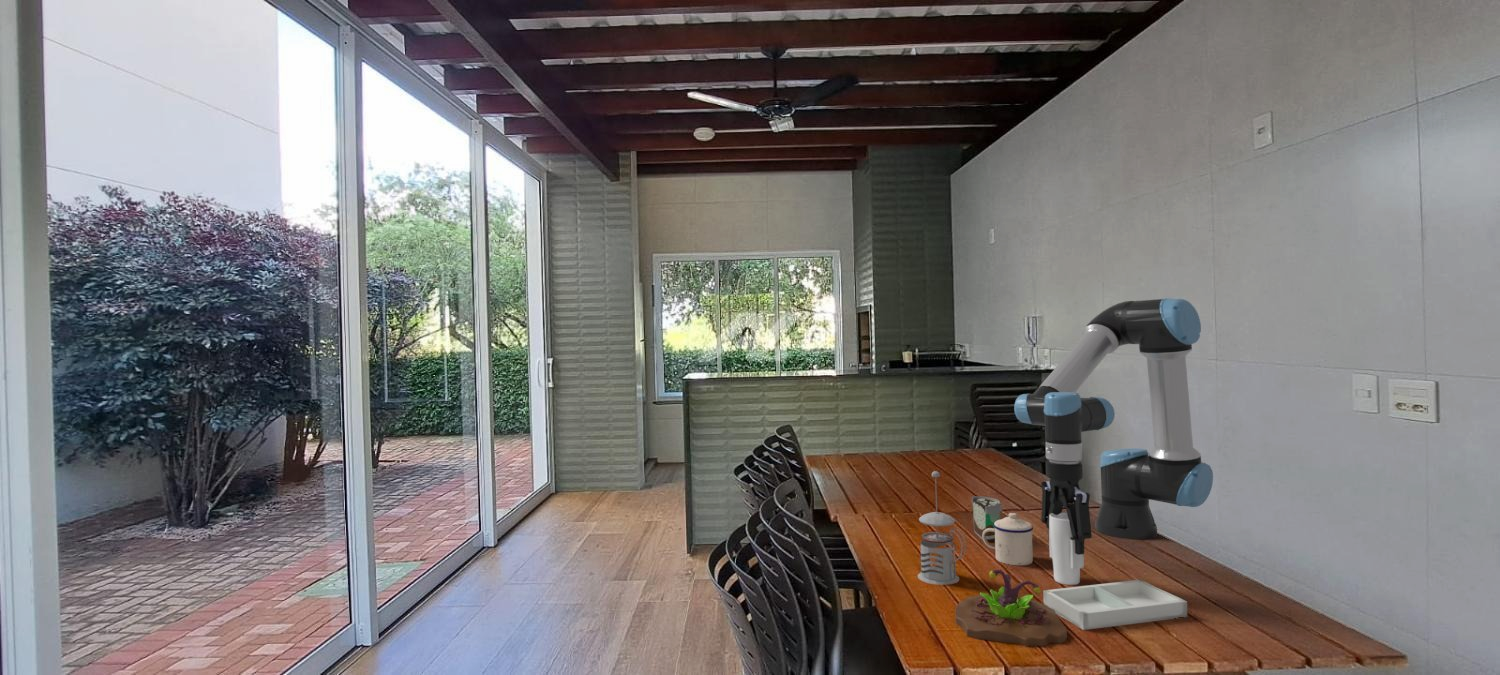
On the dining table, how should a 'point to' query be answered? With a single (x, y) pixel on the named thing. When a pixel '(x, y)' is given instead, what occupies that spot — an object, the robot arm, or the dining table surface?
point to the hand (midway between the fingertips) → (1066, 562)
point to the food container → (985, 515)
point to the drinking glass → (1062, 549)
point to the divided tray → (1114, 604)
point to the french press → (946, 570)
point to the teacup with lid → (1012, 540)
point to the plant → (1009, 616)
